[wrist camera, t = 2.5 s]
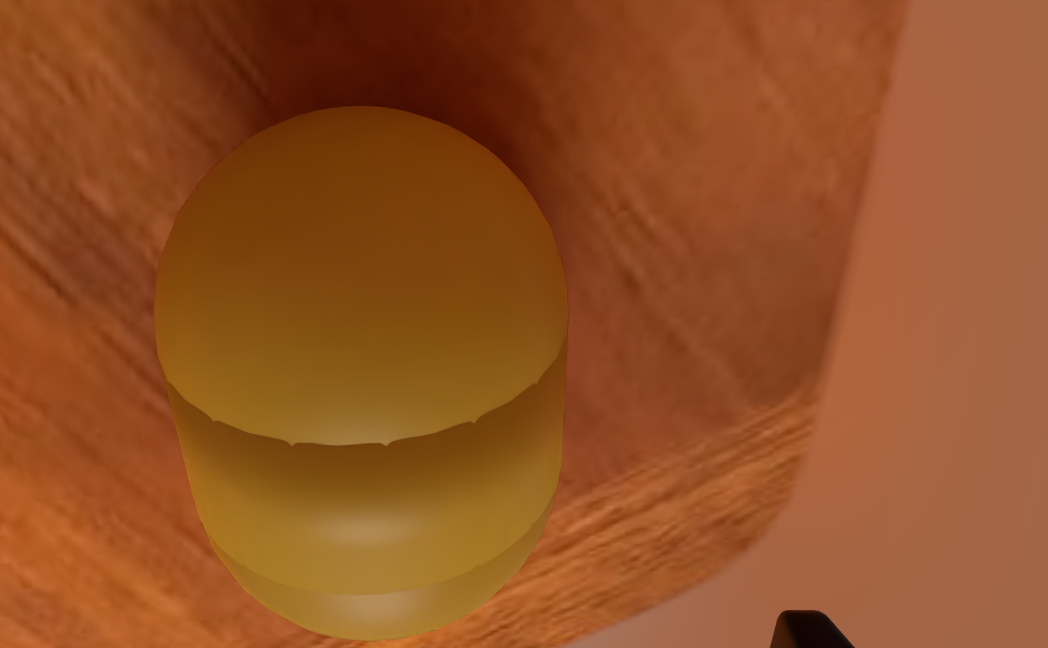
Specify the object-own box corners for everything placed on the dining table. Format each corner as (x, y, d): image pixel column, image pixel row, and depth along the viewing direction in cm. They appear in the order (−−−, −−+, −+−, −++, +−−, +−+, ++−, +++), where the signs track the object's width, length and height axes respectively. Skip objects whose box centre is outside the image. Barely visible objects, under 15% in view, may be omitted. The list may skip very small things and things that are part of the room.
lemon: (186, 46, 13) (24, 228, 9) (566, 50, 13) (594, 233, 9) (263, 461, 17) (180, 721, 13) (549, 462, 17) (561, 721, 13)
